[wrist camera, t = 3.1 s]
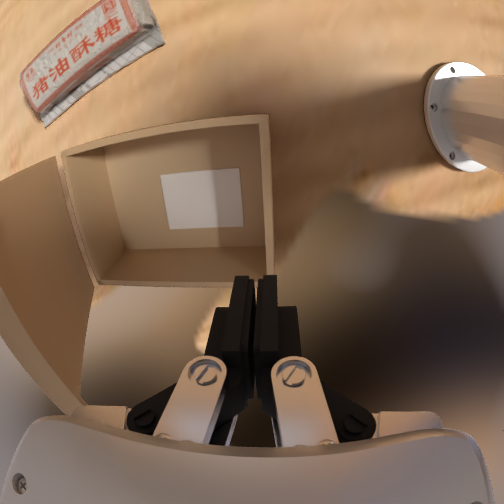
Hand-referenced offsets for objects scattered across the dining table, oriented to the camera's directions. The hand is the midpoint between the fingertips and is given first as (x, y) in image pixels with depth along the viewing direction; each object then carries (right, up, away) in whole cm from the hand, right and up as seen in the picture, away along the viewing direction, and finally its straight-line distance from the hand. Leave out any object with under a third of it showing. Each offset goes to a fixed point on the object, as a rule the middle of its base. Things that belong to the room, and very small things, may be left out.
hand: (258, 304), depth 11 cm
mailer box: (-7, +8, +16) cm, 19 cm away
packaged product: (-18, +24, +9) cm, 32 cm away
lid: (-13, +1, +4) cm, 13 cm away
